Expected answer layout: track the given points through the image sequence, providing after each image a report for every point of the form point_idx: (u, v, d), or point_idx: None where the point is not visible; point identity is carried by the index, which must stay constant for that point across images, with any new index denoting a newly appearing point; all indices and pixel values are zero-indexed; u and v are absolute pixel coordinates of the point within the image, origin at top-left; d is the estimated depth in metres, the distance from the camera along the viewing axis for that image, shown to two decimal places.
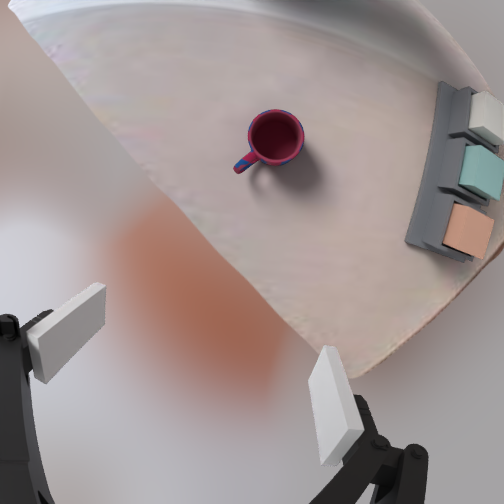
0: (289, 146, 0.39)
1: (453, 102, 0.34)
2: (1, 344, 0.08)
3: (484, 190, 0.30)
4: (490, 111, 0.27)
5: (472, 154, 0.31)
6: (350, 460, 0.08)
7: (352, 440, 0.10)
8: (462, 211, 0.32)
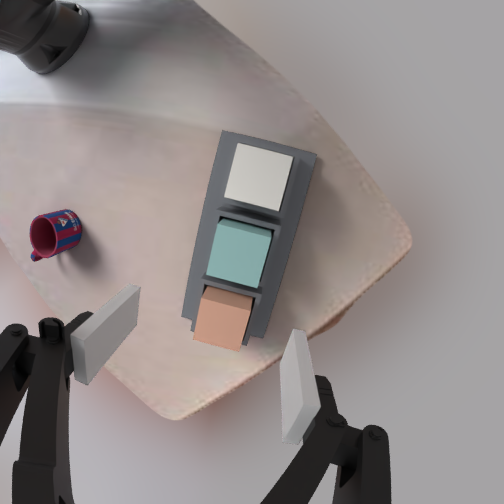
0: None
1: None
2: (43, 346, 0.09)
3: (226, 278, 0.33)
4: (242, 172, 0.30)
5: None
6: (308, 439, 0.09)
7: (310, 417, 0.11)
8: None
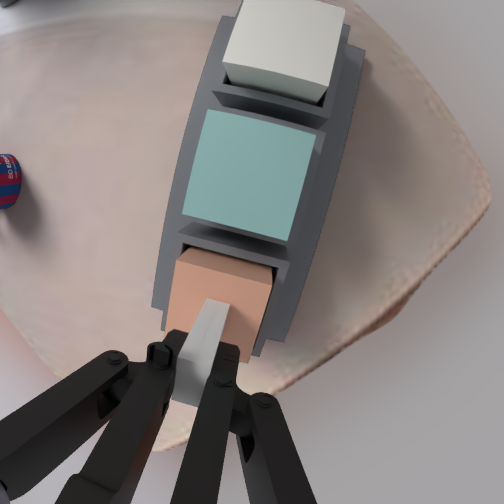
0: None
1: None
2: (147, 369, 0.10)
3: (223, 220, 0.16)
4: (257, 24, 0.13)
5: None
6: (200, 405, 0.09)
7: (204, 377, 0.12)
8: None
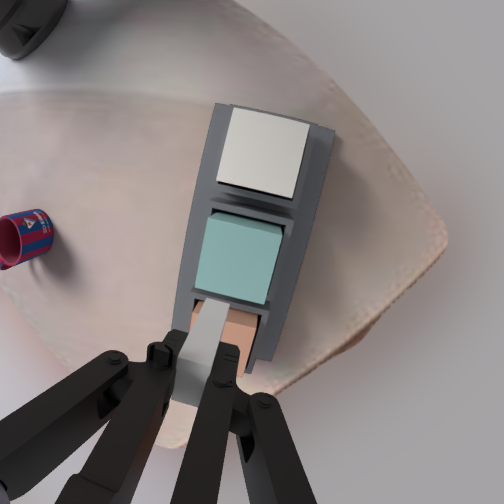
0: None
1: None
2: (147, 369, 0.10)
3: (221, 292, 0.24)
4: (240, 146, 0.22)
5: None
6: (200, 405, 0.09)
7: (204, 377, 0.12)
8: None
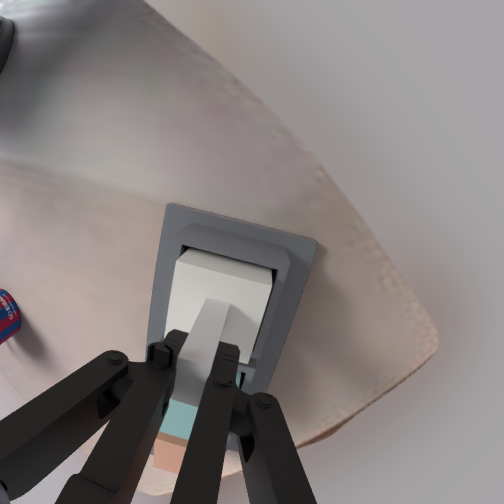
0: None
1: None
2: (147, 369, 0.10)
3: (178, 435, 0.20)
4: (187, 309, 0.18)
5: None
6: (200, 405, 0.09)
7: (204, 377, 0.12)
8: None
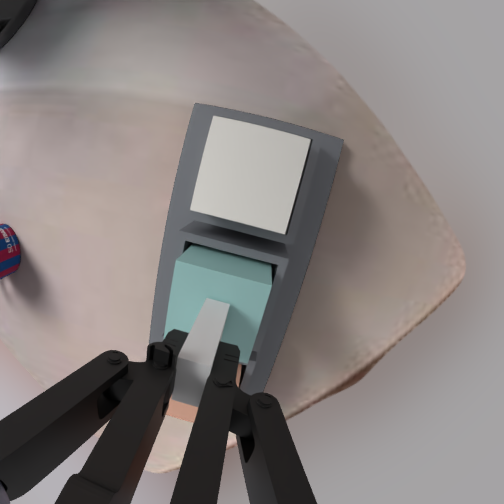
0: None
1: None
2: (147, 369, 0.10)
3: None
4: (220, 166, 0.17)
5: None
6: (200, 405, 0.09)
7: (204, 377, 0.12)
8: None
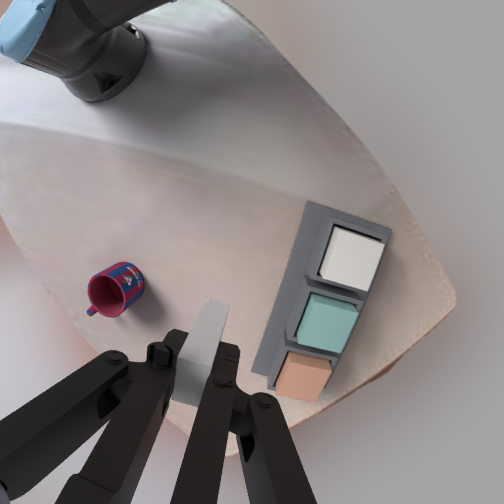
0: None
1: (319, 229, 0.39)
2: (147, 369, 0.10)
3: (315, 346, 0.36)
4: (341, 257, 0.33)
5: (309, 305, 0.37)
6: (200, 405, 0.09)
7: (204, 377, 0.12)
8: (287, 362, 0.38)
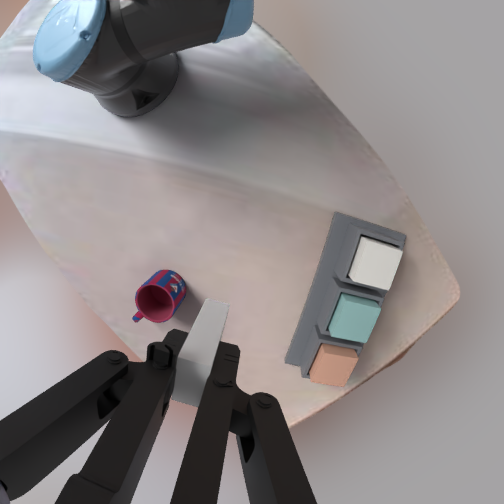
0: None
1: (346, 237, 0.44)
2: (147, 369, 0.10)
3: (345, 338, 0.41)
4: (368, 263, 0.38)
5: (340, 304, 0.42)
6: (200, 405, 0.09)
7: (204, 377, 0.12)
8: (321, 353, 0.43)
